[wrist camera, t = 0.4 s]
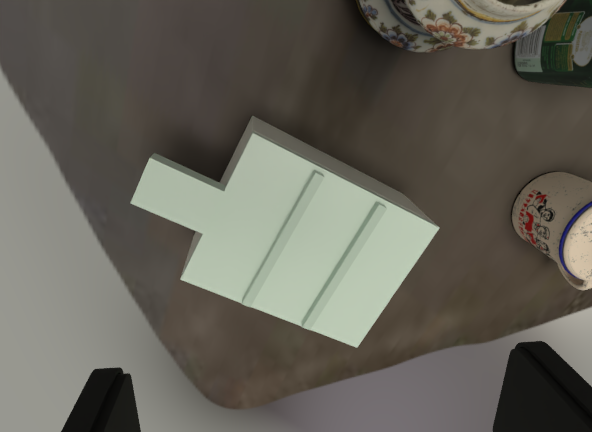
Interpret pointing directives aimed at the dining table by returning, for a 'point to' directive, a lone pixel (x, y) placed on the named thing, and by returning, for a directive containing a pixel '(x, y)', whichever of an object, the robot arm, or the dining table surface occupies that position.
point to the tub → (316, 157)
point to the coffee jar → (559, 48)
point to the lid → (290, 237)
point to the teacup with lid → (559, 223)
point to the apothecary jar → (456, 21)
